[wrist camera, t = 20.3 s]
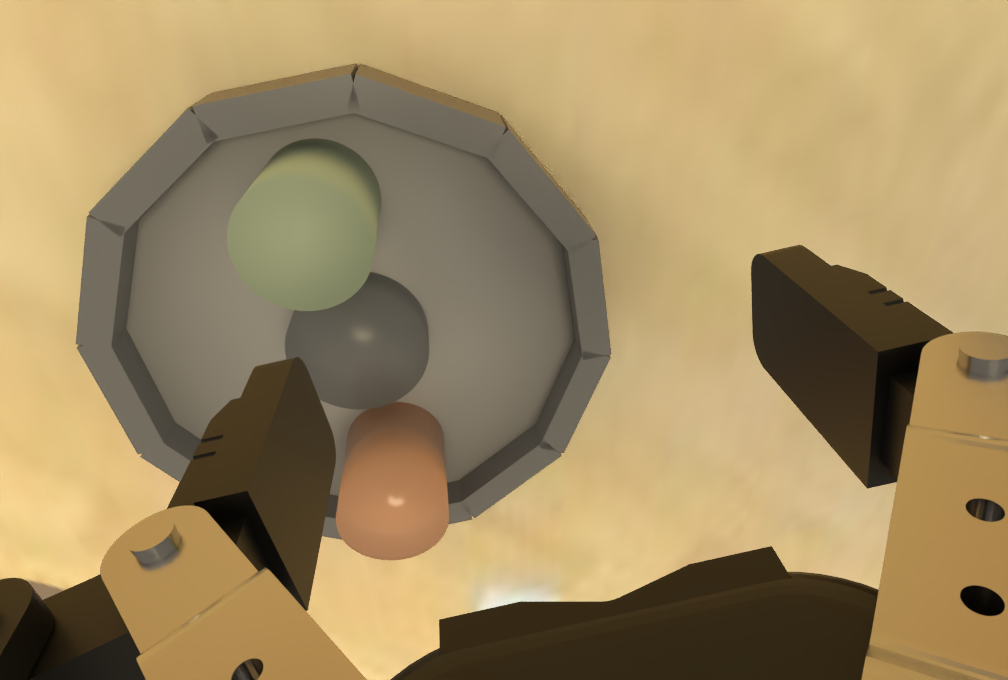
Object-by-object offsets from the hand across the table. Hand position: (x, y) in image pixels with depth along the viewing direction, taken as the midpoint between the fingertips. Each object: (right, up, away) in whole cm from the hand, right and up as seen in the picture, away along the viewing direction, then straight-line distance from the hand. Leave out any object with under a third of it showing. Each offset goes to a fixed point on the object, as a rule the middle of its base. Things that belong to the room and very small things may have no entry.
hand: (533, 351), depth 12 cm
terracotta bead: (-5, -4, +19) cm, 20 cm away
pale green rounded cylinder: (-7, +6, +13) cm, 16 cm away
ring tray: (-7, +1, +17) cm, 18 cm away
